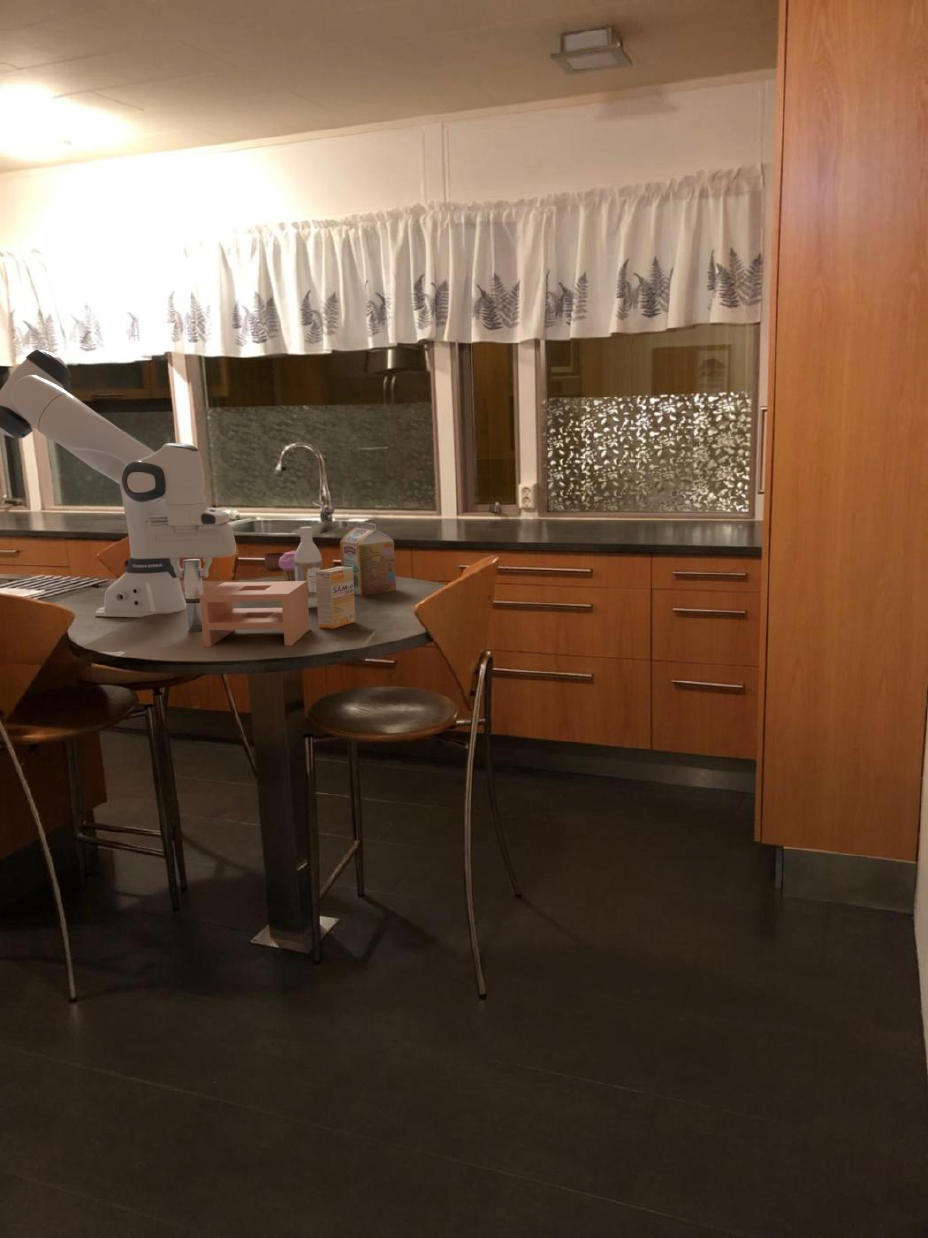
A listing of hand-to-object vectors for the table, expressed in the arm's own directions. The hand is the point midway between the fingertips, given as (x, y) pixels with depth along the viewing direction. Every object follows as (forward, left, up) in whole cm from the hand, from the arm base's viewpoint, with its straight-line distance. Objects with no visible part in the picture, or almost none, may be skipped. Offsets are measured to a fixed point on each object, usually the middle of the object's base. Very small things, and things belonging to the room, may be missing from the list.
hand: (192, 577), depth 223 cm
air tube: (0, 0, -12) cm, 12 cm away
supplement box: (+32, +3, -12) cm, 34 cm away
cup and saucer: (-3, +81, -12) cm, 82 cm away
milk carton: (+32, +44, -12) cm, 56 cm away
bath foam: (+20, +27, -12) cm, 36 cm away
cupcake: (+8, +59, -12) cm, 61 cm away
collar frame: (+17, -9, -12) cm, 23 cm away
